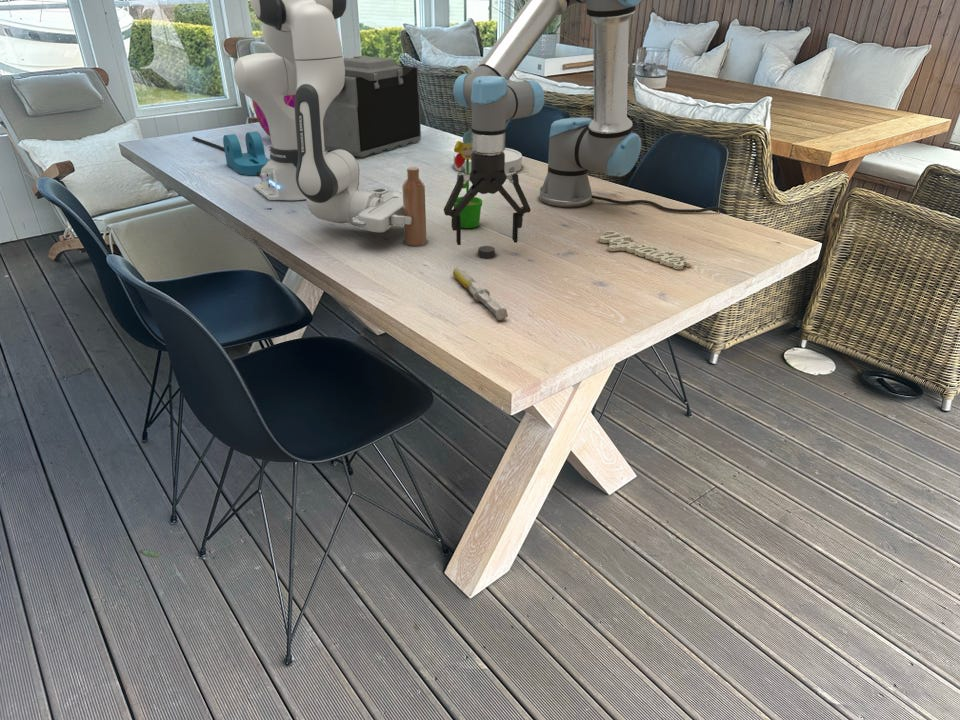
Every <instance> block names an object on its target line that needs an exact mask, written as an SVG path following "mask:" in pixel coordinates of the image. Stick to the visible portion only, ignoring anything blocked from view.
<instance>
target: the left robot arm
mask: <svg viewBox="0 0 960 720" xmlns="http://www.w3.org/2000/svg"><path fill="white" fill-rule="evenodd" d="M249 1H250V6H251V8H252V10H253V12H254V14H255V17H256V18H257V19H258V20H259V21H260V22H261V35H262V40H263V42H264V44H265V46H267V48H268V49H269V50H270V51H271V52H260V53H259V52H257V53H252V54H248V55H244V56H240V57H238V58H237V60H236V61H235V64H234V66H233V80H234V82H235V85H236V86H237V88H238V89H239V91H240V92H241V93H242V94H244V95H245V96H247V97H249V98H250V99H251V101H252V100H254V101H255V102H256V103H257V104H258V106H259V107H260V108H261V109H262V111H263V113H264V115H265V117H266V119H267V123H268V127H269V131H270V136H269V137H270V142H271V145H270V146H268V152H269V161H268V162H267V164H266V165H265V166H264V167H263V168H262V169H261V173H260V172H257V175H256V176H258V177H259V178H260V181H261V182H258V183H256V184H255V185H254V189H255V190H256V191H257V192H259V193H260V194H261V195H262V196H264V197H265V198H267V200H269V201H304V200H306V205H307V209H308V211H309V212H310V214H311V215H312V216H314V217H315V218H317V219H319V220H322V221H325V222H330V223H335V224H350V225H352V226H356V227H359V229H361V230H364V231H368V232H372V233H380V234H381V233H385V232H387V231H388V230H389V229H390V228H392V227H393V226H400V225H404V224H408V225H410V224H412V223H413V216H409V215H406V216H404V211H403V192H400V191H389V189H388V188H378V189H374V190H361V189H360V190H359V185H360V165H359V162H358V160H357V158H356V156H353V155H352V154H351V153H350V152H348V151H346V150H343V149H336V150H334V151H329V152H326V149H325V147H324V132H323V119H324V115H325V112H326V110H327V108H328V107H329V105H330V104H331V102H332V101H333V100H334V99H335V98H336V97H337V95H338V94H339V93H340V92H341V90H342V88H343V86H344V82H345V65H344V58H345V57H344V52H343V47H342V41H341V37H340V33H339V30H338V26H337V23H336V20H337V19H340V18H342V17H343V16H344V14H345V12H346V9H347V4H348V3H347V2H348V1H347V0H249ZM286 95H295V108H293V107H290V106H288V105H286V104H285V101H284V96H286ZM192 140H193V141H198V142H200V143H203V144H206V145H208V146H211V147H214V148H216V149H219V150H222V151H223V152H225V150H224V146H221V145H219V144H216V143H213V142H210V141H208V140H205V139H202V138H199V137H196V136H192Z"/></svg>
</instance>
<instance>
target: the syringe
mask: <svg viewBox="0 0 960 720" xmlns="http://www.w3.org/2000/svg"><path fill="white" fill-rule="evenodd" d="M452 274H453V277H454V279H455V280H457V281H458V282H459V283H460V285H462V287H464V289H466V290H467V291H468V293H470V295H471V296H472V298H473V300H474V302H477V303H478V302H480V303H482V304H483V305H484V306H485V307H486V308H487V309H488V310H489V311H490V312H491V313H492V314H493V315H494V316H495V317H496V320H497V321H503V320H504V319H506V318H507V317H509V314H508V310H507V308H506V307H502V306H501V305H500V303H498V302H497V301H496V300H494V299H493V298H492V297H491V296H490V295H491V293H490V290H488V289H486V288H483V287H482V286H481V285H480V284H479V283H478V282H477V281H476V280H474V278H473V277H471V275H469V274H468V273H467V272H466V270H465V269H464V268H463V267H462V266H456V267H454V268H453V271H452Z"/></svg>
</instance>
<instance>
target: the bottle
mask: <svg viewBox="0 0 960 720" xmlns="http://www.w3.org/2000/svg"><path fill="white" fill-rule="evenodd" d="M406 173H407V174H406V175H407V178H406V179H405V181H404V182H403V183H402V186H401V187H402V189H401V190H402V193H403V211H404V216H406V215H409V216H413V223H412V224H410V225H408V224H403V228H404V231H403V232H404V243H405V245H407V246H412V247H418V246H424V245H426V244H427V215H426V214H427V213H426V210H427V209H426V186H425V185H426V184H425V183H424V182H423V181H422V179H421V178H420V168H419V167H417V166H410V167H409V166H408V167H407V168H406Z"/></svg>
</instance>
